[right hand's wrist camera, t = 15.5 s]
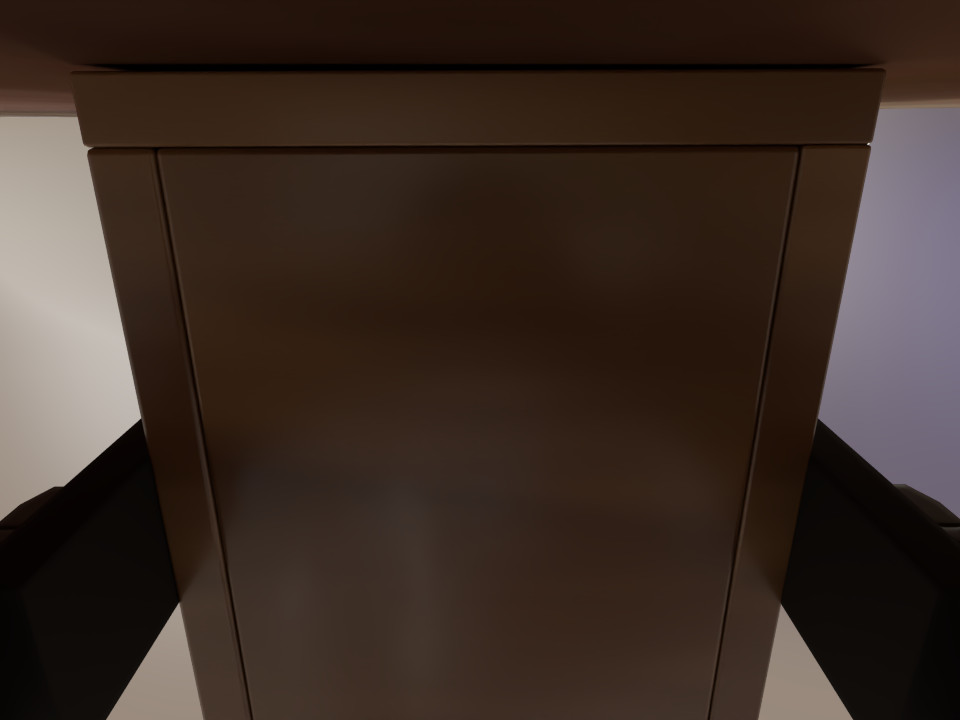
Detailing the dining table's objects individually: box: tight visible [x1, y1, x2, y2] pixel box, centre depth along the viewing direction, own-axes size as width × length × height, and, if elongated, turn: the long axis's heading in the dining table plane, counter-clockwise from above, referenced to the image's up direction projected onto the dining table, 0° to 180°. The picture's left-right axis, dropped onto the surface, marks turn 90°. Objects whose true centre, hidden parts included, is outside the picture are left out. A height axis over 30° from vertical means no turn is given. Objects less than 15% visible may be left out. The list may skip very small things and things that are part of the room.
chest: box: [69, 68, 886, 720], centre depth 17 cm, size 15×10×11 cm, turn 0°
